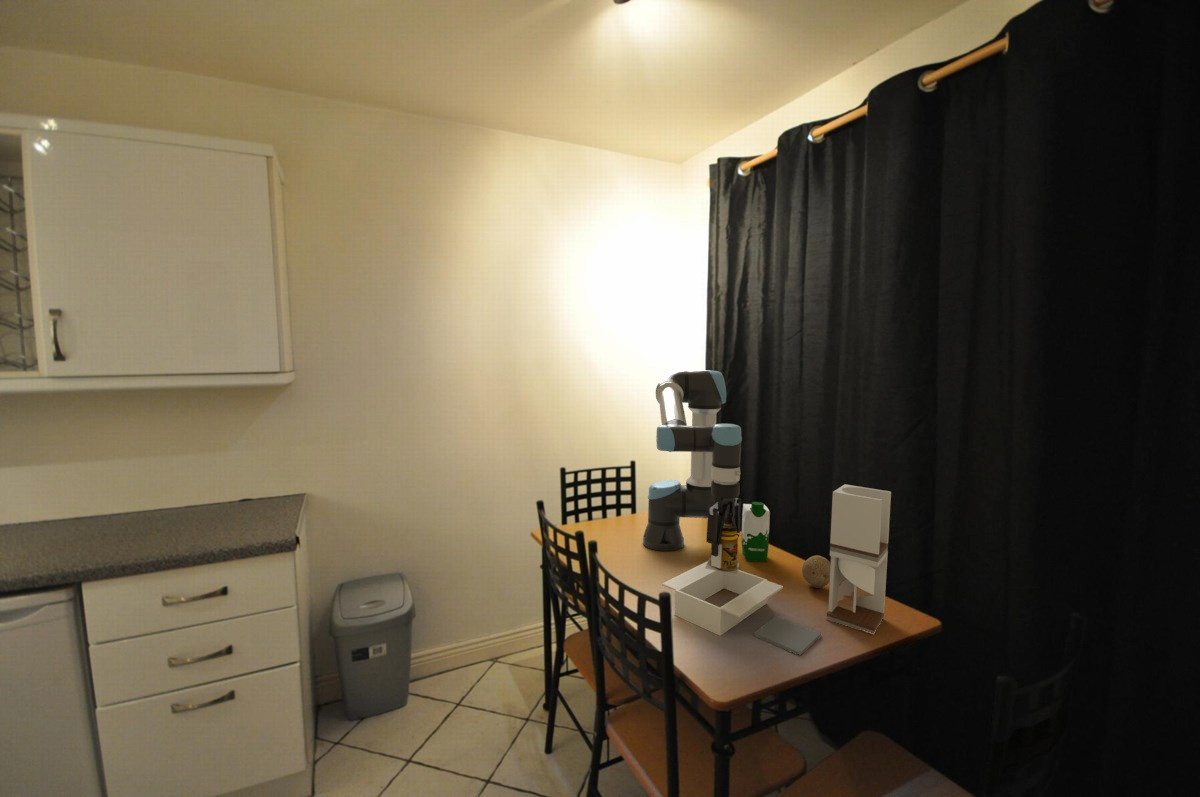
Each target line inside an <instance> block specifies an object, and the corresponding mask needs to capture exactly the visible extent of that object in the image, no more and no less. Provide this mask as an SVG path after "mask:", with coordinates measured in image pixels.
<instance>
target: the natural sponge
mask: <svg viewBox="0 0 1200 797" xmlns="http://www.w3.org/2000/svg"><path fill="white" fill-rule="evenodd" d="M830 568H831V561H829V560H828V559H827V558H826V557H824V556H821V555H812V556H810V557H808V558H807V559H806V560H805V561H804V562H803V564H802V567H801V573H802V577H803V579H804V580H805V581H806V582H807V583H808V584H810V585H811V586H812V587H814V588H815V589H821V588H823V587H824V588H825V586H827V585H828V584H830Z"/></svg>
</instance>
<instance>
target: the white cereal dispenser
mask: <svg viewBox="0 0 1200 797" xmlns="http://www.w3.org/2000/svg"><path fill="white" fill-rule="evenodd" d="M891 498H892V491H889V490H882V489H876V488H870V487H863V486H857V485H851V484H845V483H844V484H843V485H842V486H839V487H838V488H837V489H835V490H834V491H832V501H831V503H832V504H831V521H830V522H831V523H830V539H829V540H830V541H829V542H830V544H829V545H830V546H829V557H830V563H831V568H830V582H829V593H828V611H827V612H826V621H828V620H830V621H829V622H831V621H833V622H832V623H834V622H836V623H835V624H837V623H839V624H838V625H840V624H843V625H847V626H849V627H853V628H857V629H861V630H865V631H868V632H871V633H874V632H875V630H876V629H877V627H878V626H879V624H880V623H881V621H882V619H883V618H884V619H885V602H886V589H887V588H886V585H887V571H888V570H887V569H888V568H887V567H888V553H889V549H888V548H889V536H890V520H891V519H890V518H891V516H890V515H891V501H892V500H891ZM882 622H883V621H882ZM881 624H882V623H881ZM843 625H842V626H843ZM849 627H848V628H849ZM879 627H880V626H879ZM877 630H878V629H877Z"/></svg>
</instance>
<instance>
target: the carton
mask: <svg viewBox="0 0 1200 797" xmlns="http://www.w3.org/2000/svg"><path fill="white" fill-rule="evenodd" d="M707 563H708V560H706V561H705V562H702V563H701V564H698V565H697V566H695V567H693V568H690V569H688V570H687V571H684V572H682V573H681V574H679V575H676V576H674V577H673V578H670V579H668V580H667V581H664V582H662V583H661V586H662V587H665V588H667V589H669V590H672V591H674V593H675V594H674V616H676V617H678V618H680V619H682V620H685V621H687V622H689V623H691V624H694V625H696V626H698V627H700V628H702V629H705V630H706V631H709V632H711V633H713V634H715V635H718V636H720V637H721V636H722V635H723V634H725V633H726V632H727V631H729V630H731V629H732V628H734V626H736V625H738V624H739V623H741V622H742V621H744V620H745V619H747V617H749V616H751V615H752V614H753V613H755V612H756V611H758V610H759V609H761V608H762V607H763V606H765V605H767V603H768V601H767V600H768V599H770V598H771V597H772V596H774V595H775V594H777V593H778V592H779V591H781V590H782V589H784V586H783V585H781V584H777V583H776V582H773V581H769V580H768V579H766V578H763V577H761V576H758V575H755V574H752V573H749V572H747V571H743V570H740V569H738V571H737V574H734V573H728V572H721V571H717V570H710V569H705V567H706V565H707ZM723 589H725V590H727V591H730V592H732V593H735V594H738V596H736V597H735V598H733V599H731V600H730V601H728V602H726V603H725V604H724V605H722V606H718V605H715V604H713V603H710V602H708V601H706V599H708V598H710V597H711V596H713V595H715V594H717V593H718V592H720V591H721V590H723Z"/></svg>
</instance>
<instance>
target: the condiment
mask: <svg viewBox="0 0 1200 797" xmlns="http://www.w3.org/2000/svg"><path fill="white" fill-rule="evenodd" d="M737 534H738V533H737V526H736V525H735V524H733V523H729V522H725V521H724V525H723V530H722V536H721V541H720V544H722V557H721V568H717V567H714V566H711V557H709V558H708V560H707V561H708V563H707V565H706V567H705V569H710V570H717V571H721V572H728V573H734V574H737V571H738V570H739V568H740V562H738V551H739V550H738V547H739V543H738V542H739V537H738V536H737Z"/></svg>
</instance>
